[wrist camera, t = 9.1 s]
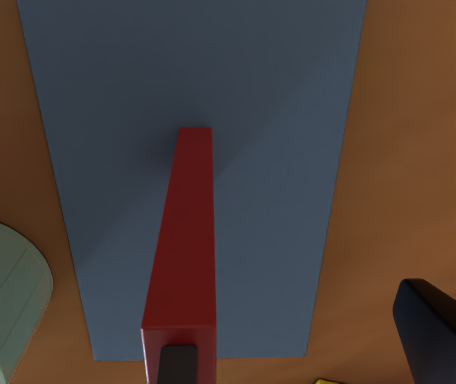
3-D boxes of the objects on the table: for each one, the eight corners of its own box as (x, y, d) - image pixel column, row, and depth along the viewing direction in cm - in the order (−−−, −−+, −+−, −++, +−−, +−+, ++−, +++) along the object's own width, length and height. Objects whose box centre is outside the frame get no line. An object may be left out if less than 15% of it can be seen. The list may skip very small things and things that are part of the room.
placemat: (304, 350, 21) (305, 356, 21) (96, 355, 20) (94, 361, 20) (390, -164, 11) (396, -169, 10) (-18, -181, 10) (-26, -186, 10)
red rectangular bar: (212, 184, 15) (217, 492, 6) (181, 184, 15) (141, 495, 6) (212, 126, 14) (218, 399, 5) (179, 126, 14) (125, 401, 5)
